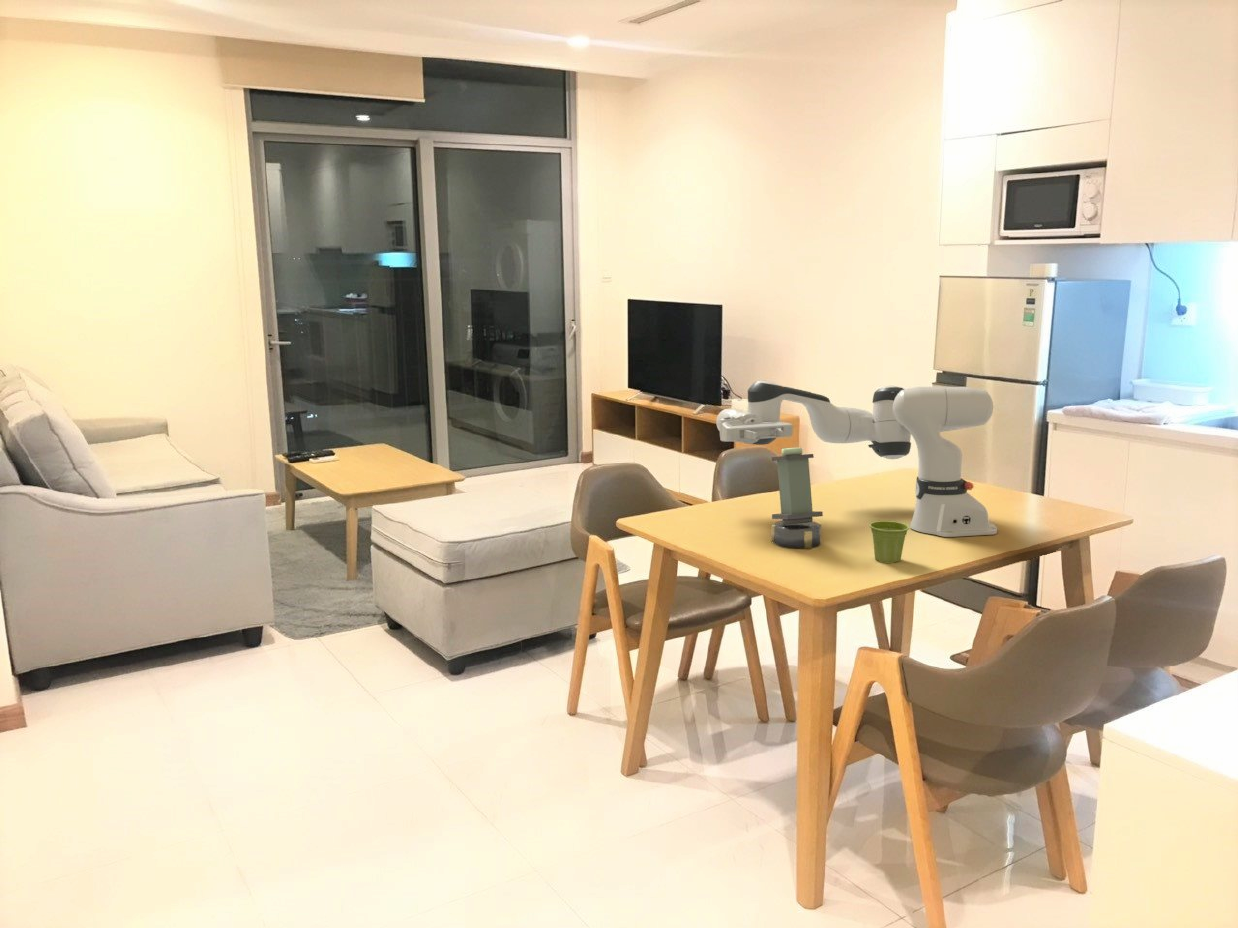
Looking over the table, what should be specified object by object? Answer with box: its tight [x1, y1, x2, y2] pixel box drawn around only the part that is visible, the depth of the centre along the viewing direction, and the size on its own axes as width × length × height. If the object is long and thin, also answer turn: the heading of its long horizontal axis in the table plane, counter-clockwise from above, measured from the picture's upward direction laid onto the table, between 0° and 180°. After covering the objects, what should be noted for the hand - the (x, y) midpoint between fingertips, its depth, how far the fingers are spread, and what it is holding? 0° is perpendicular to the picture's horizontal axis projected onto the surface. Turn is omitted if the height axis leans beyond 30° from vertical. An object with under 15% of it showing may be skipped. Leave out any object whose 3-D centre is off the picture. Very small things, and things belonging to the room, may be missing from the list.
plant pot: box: [869, 520, 910, 564], centre depth 242 cm, size 9×9×9 cm
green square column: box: [771, 447, 824, 525], centre depth 259 cm, size 10×9×20 cm
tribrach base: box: [770, 520, 822, 550], centre depth 259 cm, size 12×13×5 cm
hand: (769, 435), depth 271 cm, fingers open, 6 cm apart
